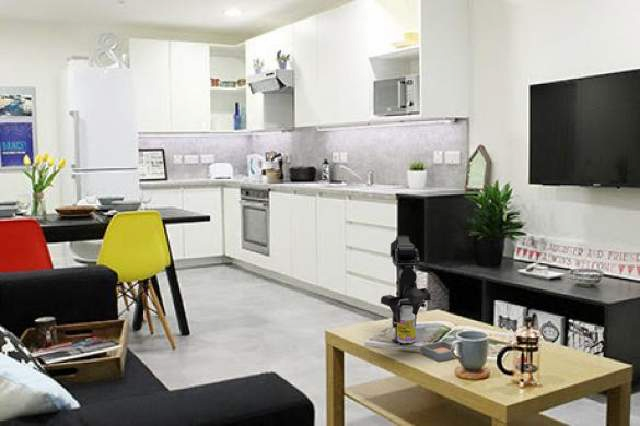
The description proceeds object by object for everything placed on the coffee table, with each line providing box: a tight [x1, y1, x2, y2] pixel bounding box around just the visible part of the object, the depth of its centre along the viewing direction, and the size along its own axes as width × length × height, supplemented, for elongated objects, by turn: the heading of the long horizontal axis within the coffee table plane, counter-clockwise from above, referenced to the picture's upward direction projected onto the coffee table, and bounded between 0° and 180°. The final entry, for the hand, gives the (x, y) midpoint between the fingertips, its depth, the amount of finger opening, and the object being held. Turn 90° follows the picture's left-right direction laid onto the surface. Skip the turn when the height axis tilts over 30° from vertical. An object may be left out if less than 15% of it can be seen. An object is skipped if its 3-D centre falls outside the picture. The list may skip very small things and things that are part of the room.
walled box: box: [419, 340, 456, 363], centre depth 246 cm, size 11×11×3 cm
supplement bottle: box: [397, 305, 416, 344], centre depth 248 cm, size 7×7×13 cm
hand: (406, 321), depth 248 cm, fingers closed on supplement bottle, 7 cm apart
